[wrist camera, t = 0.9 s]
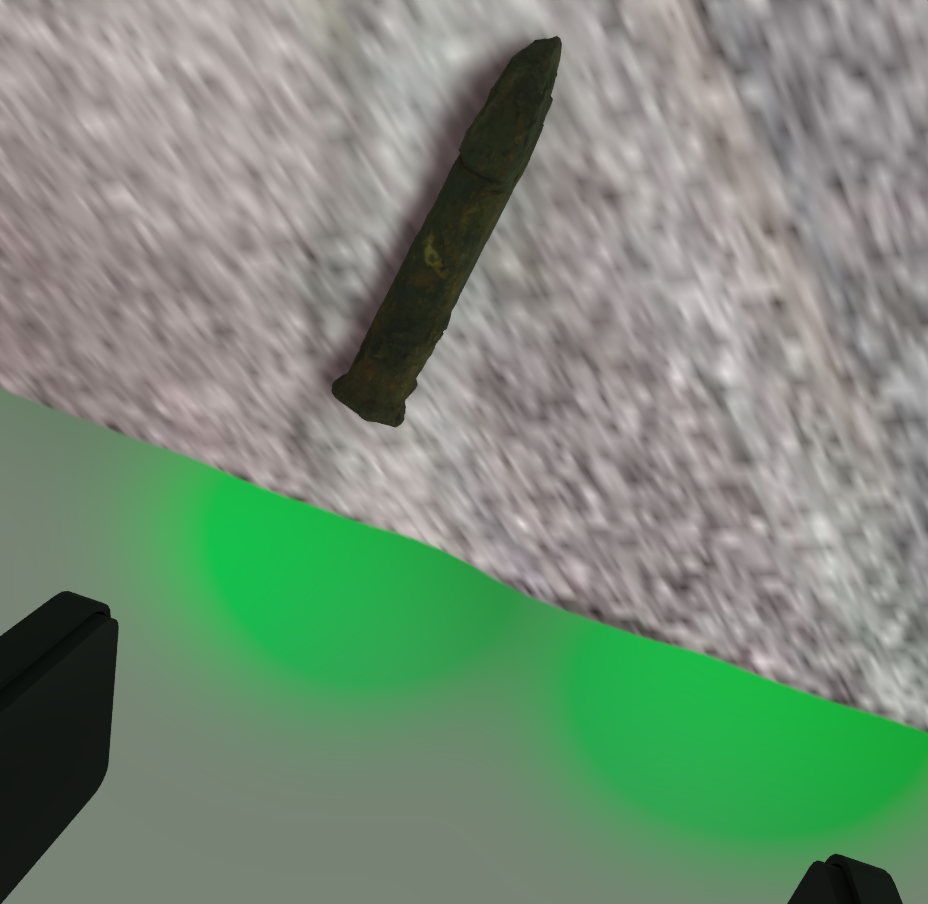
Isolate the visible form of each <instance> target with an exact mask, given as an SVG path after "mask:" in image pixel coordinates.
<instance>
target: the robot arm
mask: <svg viewBox="0 0 928 904" xmlns="http://www.w3.org/2000/svg"><path fill="white" fill-rule="evenodd" d="M117 641H118V622H117V620H115V619H113V618H111V615H110V609H109V607H108V605H106V604H104V603H102V602H98V601H96V600H93V599H90V598H87V597H84V596H81V595H78V594H75V593H72V592H69V591H64V592H61V593H59V594H57V595H56V596H54V597H53V598H51V599H50V600H49V601H47V602H46V603H44V604H43V605H42V606H40V607H39V608H38V609H36V610H35V611H34V612H32V613H31V614H30V615H28V616H27V617H26V618H24V619H23V620H21V621H20V622H19V623H17V624H16V625H15V626H13V627H12V628H11V629H9V630H8V631H7V632H5V633H4V634H3V635H1V636H0V904H1V903H2V902H3V900H5V899H6V897H7V896H8V895H9V894H10V893H11V892H12V890H13V889H14V888H15V887H16V886H17V885H18V883H19V882H20V881H21V880H22V879H23V877H24V876H25V875H26V874H27V873H28V872H29V870H30V869H31V868H32V867H33V866H34V865H35V863H36V862H37V861H38V860H39V859H40V857H41V856H42V855H43V854H44V853H45V852H46V850H47V849H48V848H49V847H50V846H51V845H52V843H53V842H54V841H55V840H56V839H57V838H58V836H59V835H60V834H61V833H62V832H63V830H64V829H65V828H66V827H67V826H68V825H69V823H70V822H71V821H72V820H73V819H74V818H75V816H76V815H77V814H78V813H79V812H80V810H81V809H82V808H83V807H84V806H85V805H86V803H87V802H88V801H89V800H90V799H91V797H92V796H93V795H94V794H95V793H96V791H97V790H98V788H99V787H100V785H101V783H102V781H103V779H104V777H105V774H106V772H107V768H108V762H109V749H110V735H111V722H112V709H113V696H114V682H115V668H116V656H117ZM787 904H903V903H902V901H901V898H900V896H899V893H898V890H897V888H896V885H895V883H894V881H893V879H892V877H891V876H890V874H888V873H887V872H886V871H885V870H883V869H881V868H878V867H875V866H872V865H869V864H866V863H863V862H860V861H857V860H854V859H851V858H848V857H845V856H842V855H838V854H834V855H832V856H830V857H829V858H828V859H827V860H826V862H825V863H824V862H821V861H816V862H813V864H812V865H811V866H810V867H809V869H808V871H807V872H806V874H805V876H804V877H803V879H802V880H801V882H800V884H799V885H798V887H797V889H796V890H795V892H794V894H793V895H792V897H791V899H790V900H789V902H788V903H787Z"/></svg>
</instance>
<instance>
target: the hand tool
mask: <svg viewBox="0 0 928 904" xmlns="http://www.w3.org/2000/svg"><path fill="white" fill-rule="evenodd" d="M561 47H562V43H561V39H560V38H559V37H558V36H556V37H553V38H550V39H541V40H535V41H534V42H533V43H531V44H530V45H529V46H528V47H527V48H525V49H523V50H522V51H520V52H519V53H518V54H516V55H515V56H514V57H513V58H512V59H511V60H510V62H509V64H508V65H507V67H506V68H505V70H504V71H503V73H502V75H501V76H500V78H499V79H498V81H497V82H496V83H495V85H494V86H493V87H492V89H491V91H490V94H489V96H488V99H487V102H486V104H485V106H484V107H483V108H482V110H481V111H480V113H479V114H478V115H477V117H476V119H475V120H474V122H473V124H472V125H471V126H470V128H469V129H468V130H467V132H466V134H465V137H464V139H463V141H462V143H461V146H460V149H459V150H460V154H459V156H458V158H457V160H456V161H455V163H454V164H453V166H452V169H451V171H450V173H449V175H448V177H447V179H446V181H445V183H444V185H443V187H442V189H441V191H440V193H439V195H438V198H437V200H436V202H435V204H434V206H433V207H432V209H431V211H430V212H429V214H428V215H427V218H426V220H425V222H424V224H423V226H422V228H421V230H420V231H419V233H418V235H417V236H416V238H415V240H414V242H413V244H412V246H411V247H410V250H409V252H408V254H407V256H406V258H405V260H404V262H403V264H402V266H401V268H400V270H399V272H398V273H397V275H396V277H395V279H394V281H393V283H392V285H391V287H390V289H389V291H388V293H387V295H386V297H385V299H384V301H383V303H382V305H381V307H380V308H379V310H378V312H377V314H376V316H375V318H374V320H373V322H372V325H371V327H370V329H369V331H368V333H367V335H366V337H365V339H364V340H363V342H362V345H361V348H360V351H359V352H358V354H357V356H356V358H355V360H354V362H353V364H352V366H351V368H350V370H349V372H348V374H345V375H342V376H341V377H339V378H338V379H337V380H335V381H334V382H333V384H332V393H333V395H334V396H335V398H337V399H338V400H339V401H340V402H342V403H343V404H344V405H346V406H347V407H349V408H350V409H351V410H353V411H354V412H356V413H357V414H358V415H359V416H360V417H361V418H362V419H364V420H366V421H371V422H378V423H381V424H385V425H389V426H392V427H398V426H399V425H400V424H402V422H403V421H404V414H405V408H406V406H405V400H406V399H407V397H408V396H409V395H410V394H411V393H412V392H413V391H414V390H415V389H416V387H417V380H416V378H417V376H418V374H419V373H420V372H421V370H422V369H423V367H424V365H425V363H426V361H427V359H428V358H429V357H430V356H431V354H432V352H433V350H434V348H435V345H436V343H437V342H438V341H439V340H440V339H441V337H442V335H443V331H444V330H446V329H447V326H448V323H449V320H450V316H451V312H452V310H453V308H454V306H455V305H456V303H457V301H458V298H459V296H460V293H461V292H462V290H463V288H464V286H465V284H466V282H467V280H468V278H469V276H470V274H471V272H472V270H473V268H474V266H475V264H476V262H477V260H478V258H479V256H480V254H481V252H482V250H483V248H484V246H485V244H486V242H487V241H488V239H489V237H490V235H491V233H492V231H493V229H494V227H495V225H496V223H497V221H498V219H499V217H500V216H501V214H502V212H503V210H504V208H505V206H506V204H507V202H508V200H509V198H510V196H511V194H512V191H513V189H514V187H515V186H516V184H517V182H518V181H519V179H520V178H521V176H522V174H523V172H524V170H525V168H526V166H527V164H528V162H529V160H530V157H531V155H532V153H533V150H534V148H535V146H536V143H537V141H538V139H539V136H540V134H541V132H542V129H543V126H544V125H543V122H544V120H545V116H546V114H547V112H548V110H549V109H550V106H551V103H552V101H553V99H552V97H551V93H552V90H553V87H554V83H555V78H556V76H557V69H558V65H559V61H560V56H561Z"/></svg>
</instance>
